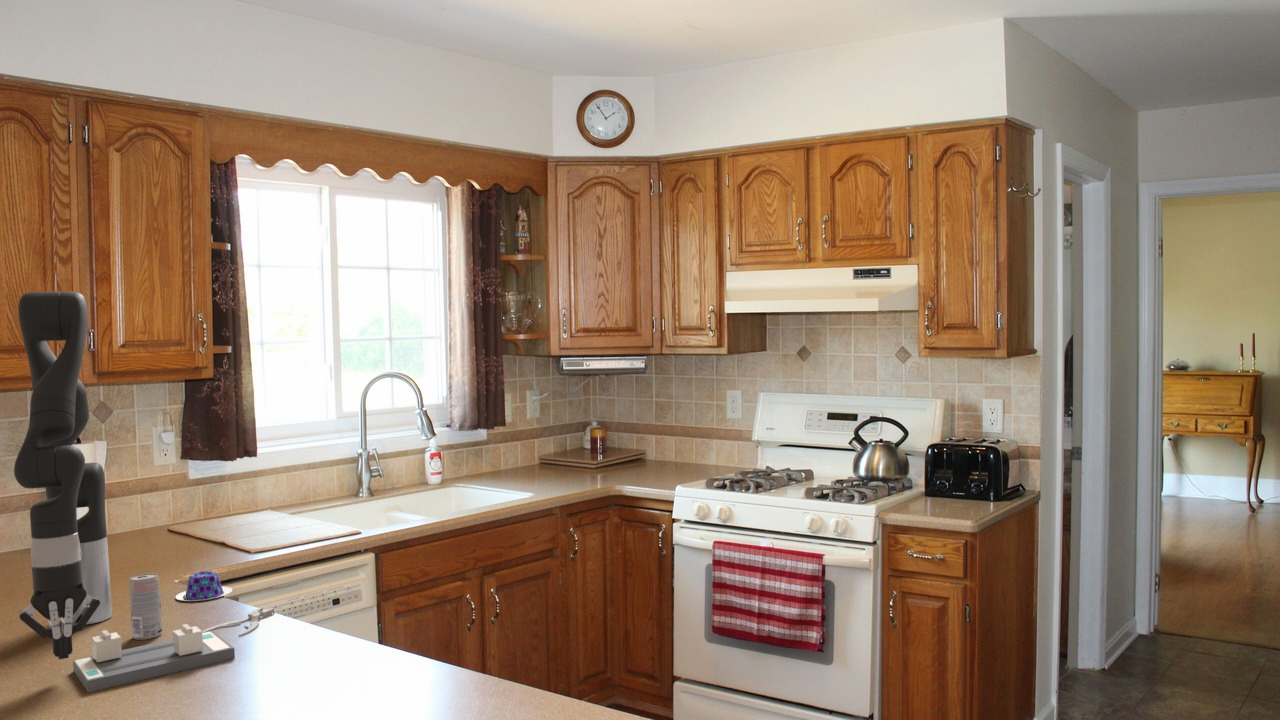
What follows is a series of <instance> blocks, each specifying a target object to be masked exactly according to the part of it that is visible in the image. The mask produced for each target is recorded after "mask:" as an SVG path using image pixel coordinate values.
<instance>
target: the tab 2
mask: <svg viewBox="0 0 1280 720" xmlns="http://www.w3.org/2000/svg"><path fill="white" fill-rule="evenodd" d="M202 631H203V630H201V629H200V627H198V626H190V625H189V624H187V623H185V624H181V628H180V629H177V630H175V629H174V630H173V631H172V639H173V641H174V651H175V652H176V653H177V654H178V655H179V656H181V655H186V654H190V653H195V652H199V651H203V638H202Z"/></svg>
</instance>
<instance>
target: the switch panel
mask: <svg viewBox="0 0 1280 720" xmlns="http://www.w3.org/2000/svg"><path fill="white" fill-rule="evenodd" d="M202 638H203V651H199V652H195V653H190V654H186V655H181V656H179V655H178V654H177V653H176V652H175V651H174V641H173V638H171V639H168V640H163V641H159V642H158V641H157V642H153V643H149V644H144V645H139V646H134V647H131V648H126V649H122V657H120V658H115V659H111V660H106V661H102V662H97V661H96V660H95V659H94V657H93V655H92V656H88V657H82V658H78V659H74V660H72V668H73V673H74V674H75V676H76V677H77V678H78V680H79V682H80V683H81V684H82V686H83V687H84V689H85V691H86V692H87V693H88V694H89V693H93V692H96V691H101V690H104V689H105V690H106V689H109V688H113V687H118V686H123V685H127V684H131V683H135V682H140V681H144V680H148V679H153V678H157V677H161V676H165V675H170V674H174V673H178V672H184V671H187V670H191V669H197V668H201V667H204V666H208V665H209V666H210V665H212V664H218V663H222V662H226V661H229V660H234V658H236V655H235V653H236V652H235V647H234V646H233V645H232V644H230V643H229V642H228V641H226V640H225V639H224V638H223V637H222V636H220V635H219V634H217V633H216V632H215V630H213V631H209V632H204V633H202Z"/></svg>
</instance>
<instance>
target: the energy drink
mask: <svg viewBox="0 0 1280 720" xmlns="http://www.w3.org/2000/svg"><path fill="white" fill-rule="evenodd" d="M128 585H129V586H128V587H129V603H130V604H129V605H130V615H131V616H130V620H131V635H132V638H133V639H134V640H136V641H145V640H151V639H155V638H158V637H160V636H161V635H162V634H163V622H162V607H161V606H162V605H161V603H162V602H161V591H160V578H159V576H158V574H157V573H154V572H153V573H150V572H149V573H140V574H136V575H134V576H131V577H129V581H128Z"/></svg>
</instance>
